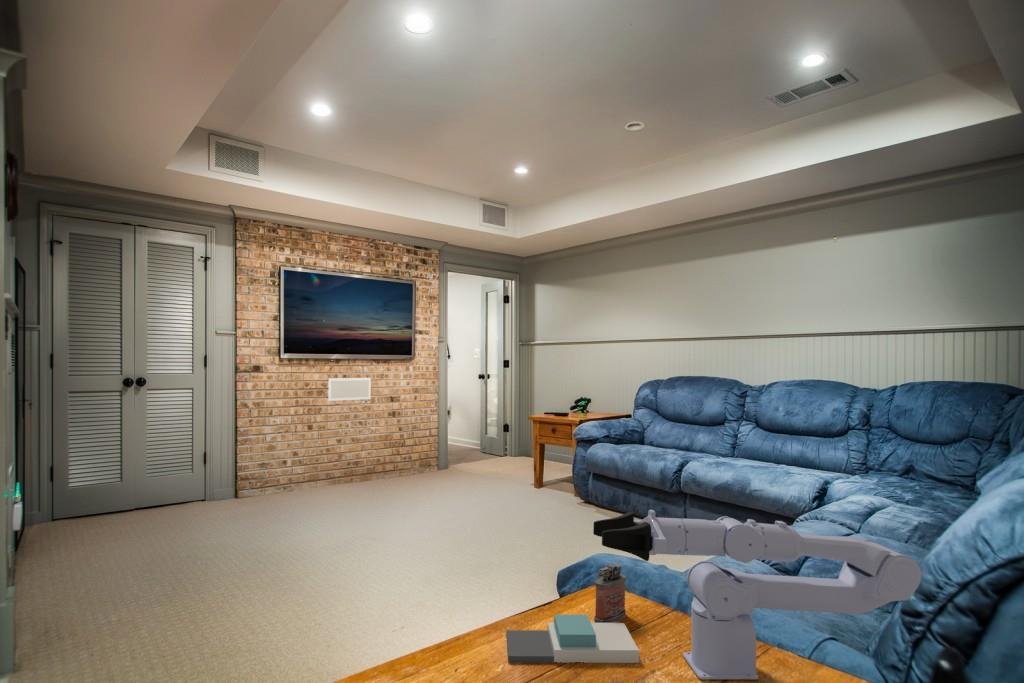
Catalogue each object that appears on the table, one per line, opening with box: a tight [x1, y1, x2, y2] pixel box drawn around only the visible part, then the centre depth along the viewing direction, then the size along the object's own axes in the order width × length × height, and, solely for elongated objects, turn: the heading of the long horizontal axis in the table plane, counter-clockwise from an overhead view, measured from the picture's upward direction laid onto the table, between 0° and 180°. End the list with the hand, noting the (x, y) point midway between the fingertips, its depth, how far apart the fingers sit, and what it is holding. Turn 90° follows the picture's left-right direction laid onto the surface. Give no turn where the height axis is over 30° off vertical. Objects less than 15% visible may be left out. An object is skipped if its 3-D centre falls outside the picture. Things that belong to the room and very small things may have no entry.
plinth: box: [546, 621, 640, 664], centre depth 97 cm, size 14×10×2 cm
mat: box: [505, 629, 554, 664], centre depth 96 cm, size 8×10×1 cm
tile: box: [553, 614, 596, 647], centre depth 97 cm, size 6×8×2 cm
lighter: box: [593, 563, 627, 623], centre depth 110 cm, size 8×3×10 cm, turn 133°
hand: (597, 533), depth 92 cm, fingers open, 7 cm apart
